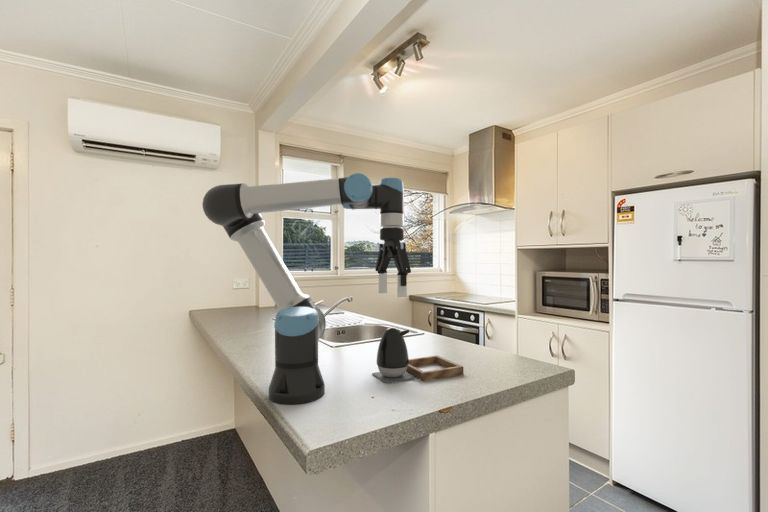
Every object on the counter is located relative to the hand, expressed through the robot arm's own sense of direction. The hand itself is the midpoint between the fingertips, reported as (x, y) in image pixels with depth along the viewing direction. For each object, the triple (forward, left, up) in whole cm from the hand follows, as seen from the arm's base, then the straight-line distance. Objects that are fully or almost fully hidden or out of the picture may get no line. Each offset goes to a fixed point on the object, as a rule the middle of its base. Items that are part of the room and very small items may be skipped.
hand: (391, 295), depth 118 cm
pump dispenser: (0, 0, -26) cm, 26 cm away
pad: (0, 0, -26) cm, 26 cm away
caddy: (+14, 0, -26) cm, 29 cm away
